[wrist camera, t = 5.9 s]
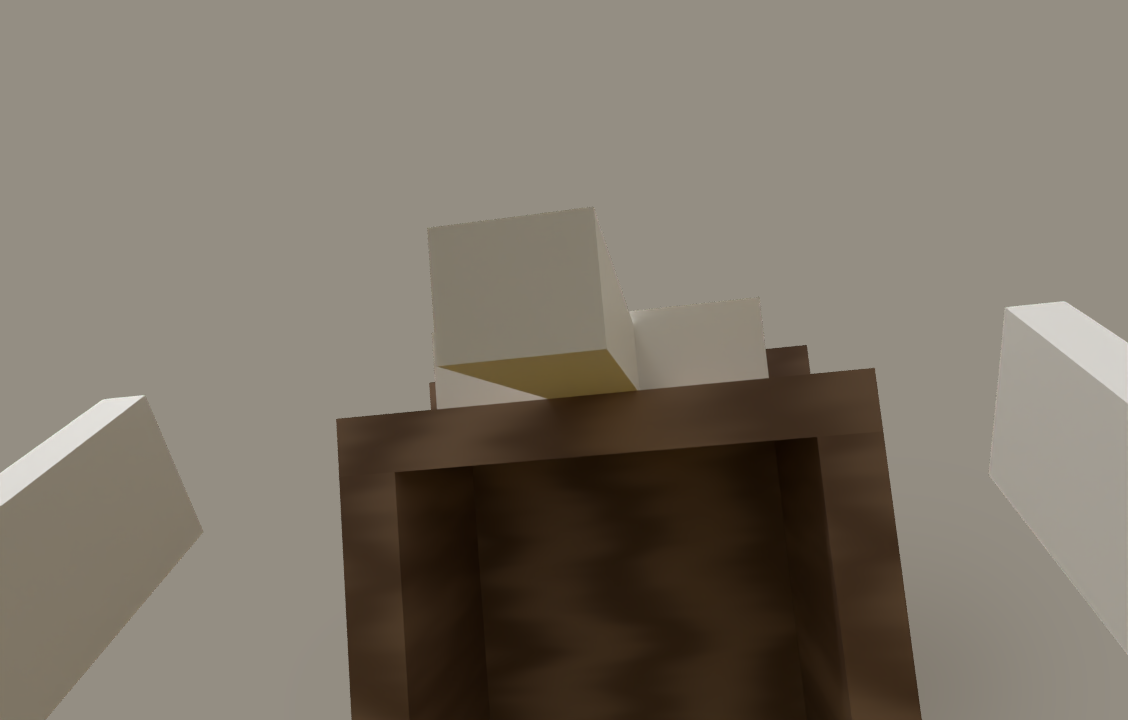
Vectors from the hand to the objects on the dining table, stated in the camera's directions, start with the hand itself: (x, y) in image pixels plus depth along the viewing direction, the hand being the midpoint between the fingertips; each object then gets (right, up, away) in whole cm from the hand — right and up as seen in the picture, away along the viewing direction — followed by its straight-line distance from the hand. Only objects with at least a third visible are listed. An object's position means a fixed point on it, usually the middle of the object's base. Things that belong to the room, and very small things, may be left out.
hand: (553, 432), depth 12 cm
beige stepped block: (+1, 0, +12) cm, 12 cm away
